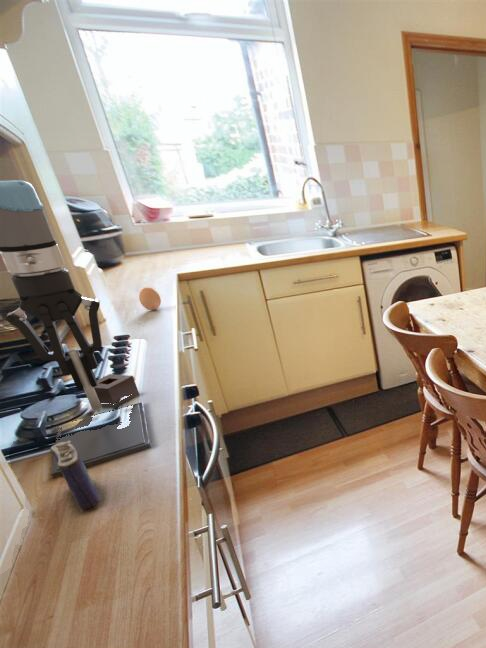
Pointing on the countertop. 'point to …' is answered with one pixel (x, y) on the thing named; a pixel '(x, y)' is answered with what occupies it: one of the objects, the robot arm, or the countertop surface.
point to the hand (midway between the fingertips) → (87, 385)
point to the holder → (115, 390)
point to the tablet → (108, 440)
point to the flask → (76, 475)
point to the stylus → (85, 380)
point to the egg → (149, 298)
